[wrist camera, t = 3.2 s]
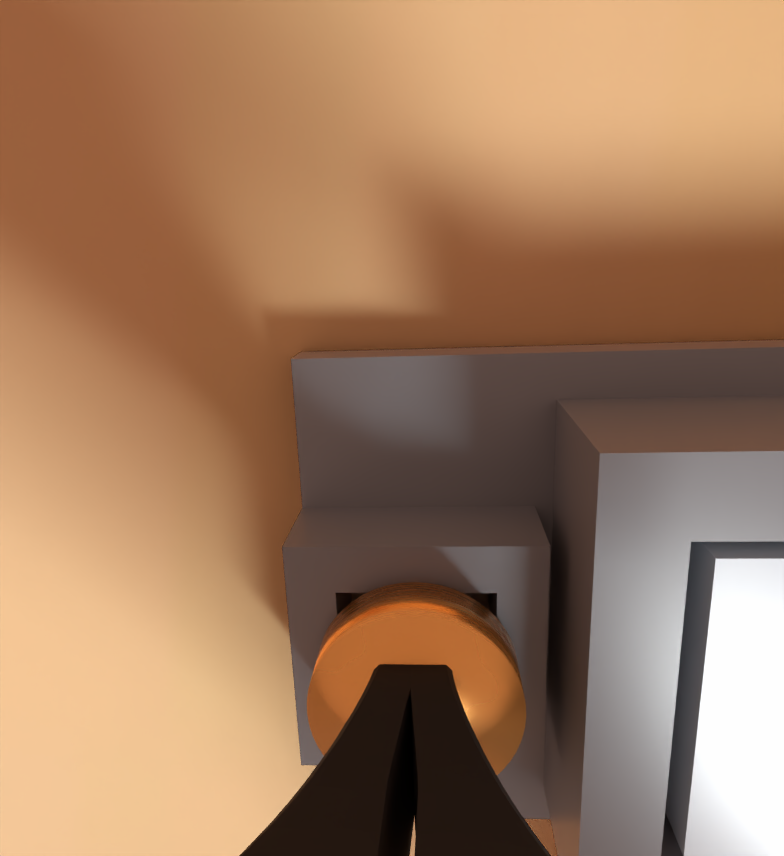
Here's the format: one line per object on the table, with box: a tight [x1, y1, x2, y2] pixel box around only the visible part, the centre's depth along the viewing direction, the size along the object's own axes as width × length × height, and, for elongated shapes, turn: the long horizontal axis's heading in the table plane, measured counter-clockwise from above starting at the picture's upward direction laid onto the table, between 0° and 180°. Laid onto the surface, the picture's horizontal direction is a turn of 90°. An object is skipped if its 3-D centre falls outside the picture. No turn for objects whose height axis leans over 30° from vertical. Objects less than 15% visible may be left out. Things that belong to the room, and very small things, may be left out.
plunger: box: [307, 582, 526, 775], centre depth 13 cm, size 4×4×3 cm
